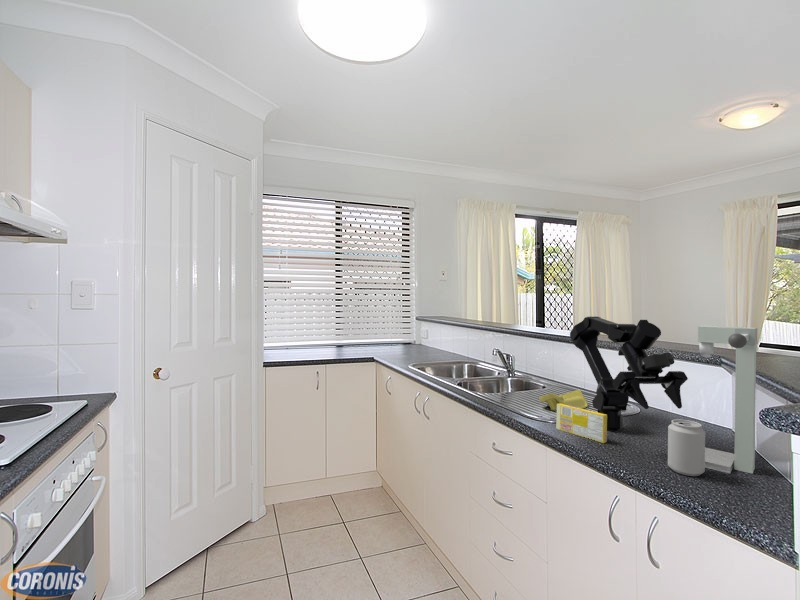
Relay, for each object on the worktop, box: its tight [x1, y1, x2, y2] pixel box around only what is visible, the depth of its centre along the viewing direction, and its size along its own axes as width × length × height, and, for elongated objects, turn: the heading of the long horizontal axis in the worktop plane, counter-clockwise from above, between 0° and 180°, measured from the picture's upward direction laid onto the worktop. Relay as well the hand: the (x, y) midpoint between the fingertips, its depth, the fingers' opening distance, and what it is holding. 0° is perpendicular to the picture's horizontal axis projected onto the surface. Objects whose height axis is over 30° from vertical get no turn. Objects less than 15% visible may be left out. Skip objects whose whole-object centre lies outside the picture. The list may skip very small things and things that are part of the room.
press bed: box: [705, 447, 734, 474], centre depth 109 cm, size 12×12×2 cm
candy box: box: [555, 403, 608, 444], centre depth 129 cm, size 16×2×8 cm, turn 33°
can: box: [667, 418, 706, 477], centre depth 102 cm, size 8×8×12 cm
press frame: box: [697, 325, 758, 475], centre depth 101 cm, size 11×21×35 cm, turn 135°
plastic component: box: [538, 389, 589, 411], centre depth 160 cm, size 20×7×10 cm
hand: (664, 408), depth 110 cm, fingers open, 9 cm apart
